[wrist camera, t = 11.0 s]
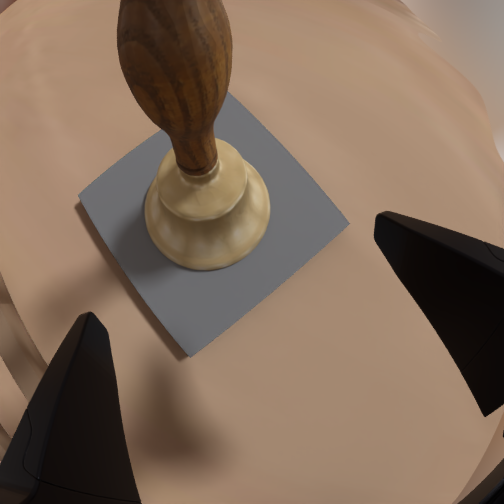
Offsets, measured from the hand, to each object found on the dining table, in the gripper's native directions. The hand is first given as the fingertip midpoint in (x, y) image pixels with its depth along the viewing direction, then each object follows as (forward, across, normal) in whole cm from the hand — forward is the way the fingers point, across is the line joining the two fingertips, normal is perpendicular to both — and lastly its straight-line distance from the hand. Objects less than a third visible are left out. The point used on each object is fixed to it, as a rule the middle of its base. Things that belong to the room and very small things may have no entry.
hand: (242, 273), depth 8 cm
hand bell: (+11, 0, +3) cm, 11 cm away
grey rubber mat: (+11, 0, +4) cm, 12 cm away
